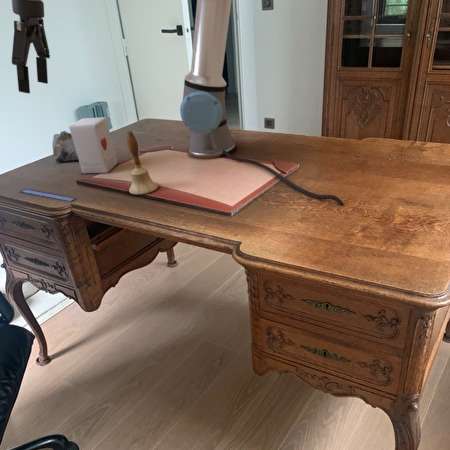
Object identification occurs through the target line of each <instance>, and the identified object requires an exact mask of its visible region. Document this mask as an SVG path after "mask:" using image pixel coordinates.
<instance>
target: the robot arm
mask: <svg viewBox="0 0 450 450" xmlns="http://www.w3.org/2000/svg"><path fill="white" fill-rule="evenodd" d="M11 7H12V12H13V13H14V14H16V15H17V16H19V20H13V32H14V33H13V40H12V52H11V64H12V65H13V66H15V67H16V77H17V87H18V88H17V89H18V92H19V93H24V94H31V87H30V76H29V75H30V74H29V66H27V63H28V59H29V53H30V48H31V44H32V45H33V48H34V51H35V53H36V57H35V64H36V78H37V83H42V84H46V85H47V84H49V79H48V78H49V77H48V61H47V59H49V60H50V59H51V54H50V48H49V43H48V39H47V35H46V30H45V21H44V19H43V18H45V3H44V1H43V0H11ZM231 8H232V0H196V9H195V11H196V12H195V21H194V30H193V31H194V32H193V35H194V36H193V42H192V43H193V44H192V54H191V65H190V66H191V67H190V71H189V72H188V73H187V74H186V75H185V76H184V82H183V83H184V84H183V92H182V93H183V94H182V101H181V104H180V107H179V113H180V118H181V120H182V121H181V122H182V123H183V125H184V126H185V128H187V129H188V130H189V131H190V132H191V133H190V139H189V145H188V151H189V153H188V154H189V156H190V157H192V158H195V159H203V160H204V159H207V160H208V159H217V158H222V157H225V156H227V157H228V158H229V159H231V160H232V161H235V162H242V163H247V164H252V165H254V166H257V167H259V168H262V169H264V170H266V171H267V172H269V173H271V174H272V175H274V176H275V177H276V178H278V179H279V180H281V181H282V182H283V183H284V184H286V185H287V186H289V187H290V188H292V189H294V190H296V191H297V192H299V193H302V194H303V195H306V196H308V197H309V198H310V197H311V198H314V199H317V200H332V201H334V202H336V204H338V206H340V207H343V206H345V204H344V203H343V201H342V200H341V199H340V197H338V196H336V195H334V194H318V193H314V192H312V191H309V190H307V189H304V188H302V187H300V186H298V185H296V184H295V183H293V182H291V181H290V180H289V179H287V178H286V177H285V176H283V175H282V174H280V173H279V172H278V171H276V170H274V169H273V168H272V167H269V166H267V164H263V163H261V162H259V161H257V160H252V159H250V158H243V157H238V156H234V155H232V154H231V153H233V152H234V151H235V150H236V143H235V141H234V139H233V137H232V134H231V131H230V128H229V126H228V121H227V120H228V119H227V109H226V99H225V97H226V89H227V82H226V80H225V79H224V77H223V71H224V63H225V56H226V55H225V54H226V49H227V48H226V47H227V39H228V32H229V26H230V25H229V24H230V16H231Z"/></svg>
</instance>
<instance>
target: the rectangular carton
mask: <svg viewBox="0 0 450 450" xmlns="http://www.w3.org/2000/svg"><path fill="white" fill-rule="evenodd" d="M68 128H69V131H70V132H69V133H71V135H72V138H73V142H74V145H75V149H76V152H77V156H78V159H79V160H78V162H79V166H80V169H81V172H82V174H108V173H109V172H110V171H111V170H112V169H113V168H115V166H116V165H118V161H117V160H118V159H117V157H116V156H117V155H116V152H115V147H114V143H113V139H112V135H111V131H110V126H109V123H108V119H107V117H105V116H101V117H86V118H80V119H79V120H76V121H75V122H74V123H72V124H71V125H68Z"/></svg>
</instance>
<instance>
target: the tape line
mask: <svg viewBox="0 0 450 450" xmlns="http://www.w3.org/2000/svg"><path fill="white" fill-rule="evenodd" d="M21 193H25V194H30V195H36V196H42V197H45V198H51V199H56V200H62V201H68V202H72V201H74V200H75V198H72V197H67V196H62V195H56V194H51V193H46V192H40V191H34V190H30V189H24V190H22V191H21Z"/></svg>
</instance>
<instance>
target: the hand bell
mask: <svg viewBox="0 0 450 450" xmlns="http://www.w3.org/2000/svg"><path fill="white" fill-rule="evenodd" d="M126 143H127V147H128V149H129V152H130V154H131V156H132V159H133V165H134V169H133V170H132V171H131V185H130V187H129V189H128V191H129V192H128V193H129V194H130V195H134V196H135V195H136V196H140V195H141V196H142V195H147V194H150V193H152V192H154V191H156V190H157V189H158V187H159V185H158V183H157V182H155V181H154V180H153V179H152V178H151V176H150V174H149V171H148V169H147V168H146V167H143V166H142V164H141V161H140V156H139V144H138V141H137V138H136V136H135V134H134V133H133V131H132V130H129V131H127V133H126Z"/></svg>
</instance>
